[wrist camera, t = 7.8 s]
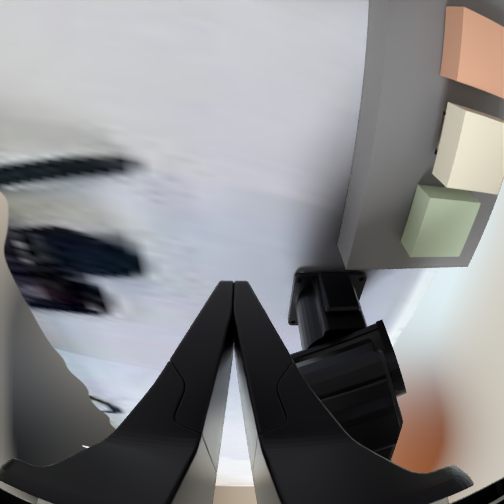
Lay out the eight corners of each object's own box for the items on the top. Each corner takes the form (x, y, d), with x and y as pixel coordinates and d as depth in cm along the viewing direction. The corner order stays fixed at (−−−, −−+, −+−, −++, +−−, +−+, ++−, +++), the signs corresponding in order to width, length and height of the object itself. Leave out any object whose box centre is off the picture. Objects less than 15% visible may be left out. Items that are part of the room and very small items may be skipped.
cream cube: (461, 163, 19) (497, 194, 15) (411, 155, 19) (446, 187, 15) (474, 105, 16) (517, 128, 12) (423, 91, 16) (465, 110, 12)
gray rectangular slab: (452, 245, 25) (467, 266, 23) (337, 245, 25) (345, 269, 23) (506, 14, 12) (532, 18, 10) (369, -42, 12) (389, -51, 9)
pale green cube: (432, 221, 24) (459, 256, 20) (386, 219, 23) (410, 257, 20) (448, 172, 21) (480, 203, 17) (400, 166, 21) (430, 197, 17)
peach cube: (467, 83, 16) (509, 100, 12) (417, 68, 16) (456, 81, 12) (473, 27, 13) (517, 35, 10) (422, 7, 13) (463, 6, 9)
